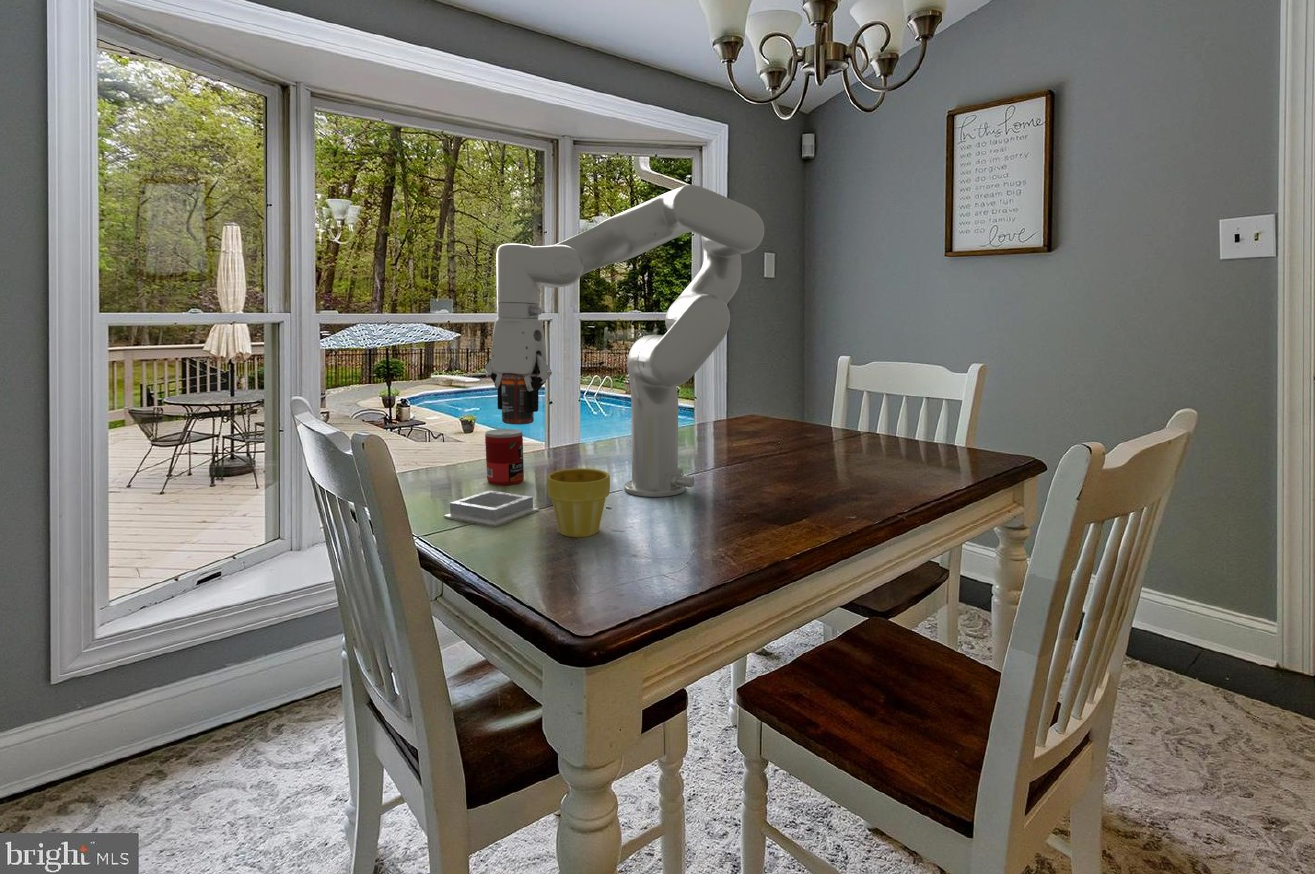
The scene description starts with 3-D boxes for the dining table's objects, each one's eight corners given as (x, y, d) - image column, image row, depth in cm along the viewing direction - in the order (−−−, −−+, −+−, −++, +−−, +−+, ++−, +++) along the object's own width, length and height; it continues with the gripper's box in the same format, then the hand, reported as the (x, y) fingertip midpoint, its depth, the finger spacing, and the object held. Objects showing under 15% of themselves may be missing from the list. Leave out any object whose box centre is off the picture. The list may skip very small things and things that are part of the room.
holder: (539, 510, 136) (538, 496, 136) (495, 527, 126) (494, 511, 125) (489, 502, 142) (489, 488, 141) (444, 517, 131) (443, 503, 131)
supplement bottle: (539, 422, 140) (540, 363, 139) (523, 426, 135) (523, 364, 133) (512, 419, 143) (512, 361, 141) (495, 423, 137) (495, 362, 135)
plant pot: (611, 540, 119) (610, 481, 117) (546, 541, 118) (544, 482, 116) (610, 522, 129) (609, 467, 127) (550, 523, 128) (549, 468, 126)
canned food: (516, 486, 154) (514, 435, 153) (480, 485, 156) (478, 433, 154) (529, 478, 162) (528, 429, 160) (495, 477, 163) (493, 428, 162)
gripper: (567, 314, 134) (566, 412, 137) (497, 312, 143) (497, 404, 146) (540, 313, 128) (540, 416, 131) (468, 311, 137) (470, 408, 140)
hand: (517, 409), depth 138 cm, fingers closed on supplement bottle, 6 cm apart
